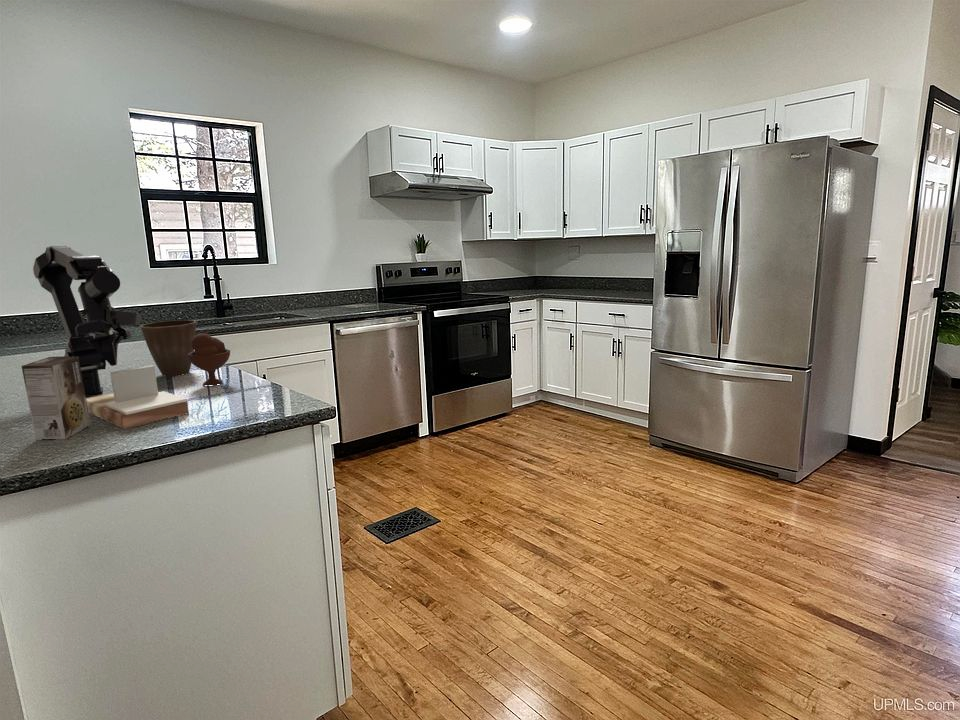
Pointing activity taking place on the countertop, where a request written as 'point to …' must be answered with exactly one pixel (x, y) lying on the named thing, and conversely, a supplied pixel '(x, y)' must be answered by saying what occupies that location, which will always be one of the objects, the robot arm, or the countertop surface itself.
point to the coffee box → (56, 397)
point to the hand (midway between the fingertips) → (113, 365)
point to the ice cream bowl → (208, 355)
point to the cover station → (125, 421)
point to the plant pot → (170, 345)
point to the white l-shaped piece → (138, 391)
